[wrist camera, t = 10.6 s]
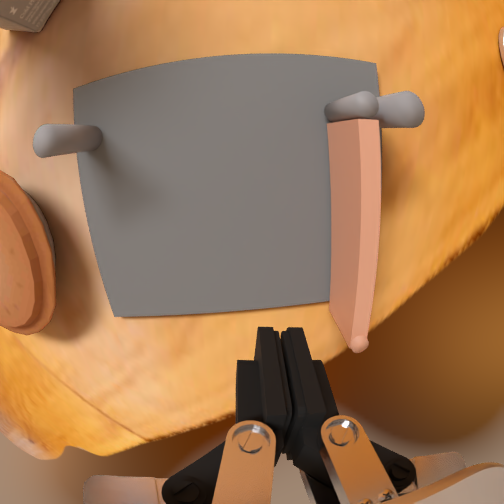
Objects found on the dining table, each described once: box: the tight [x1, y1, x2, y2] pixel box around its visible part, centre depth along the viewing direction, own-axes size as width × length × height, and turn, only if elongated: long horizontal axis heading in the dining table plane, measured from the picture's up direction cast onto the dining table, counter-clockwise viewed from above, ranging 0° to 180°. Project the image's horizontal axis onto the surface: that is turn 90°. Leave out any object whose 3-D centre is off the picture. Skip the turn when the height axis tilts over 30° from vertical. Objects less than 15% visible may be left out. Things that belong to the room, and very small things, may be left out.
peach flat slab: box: [324, 91, 381, 353], centre depth 16 cm, size 16×1×5 cm, turn 6°
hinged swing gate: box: [33, 54, 425, 317], centre depth 16 cm, size 22×18×6 cm
